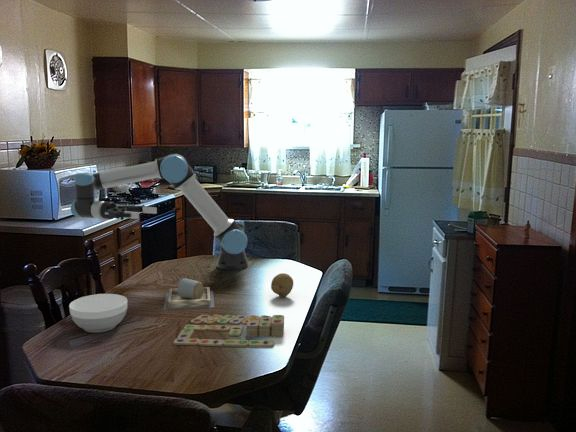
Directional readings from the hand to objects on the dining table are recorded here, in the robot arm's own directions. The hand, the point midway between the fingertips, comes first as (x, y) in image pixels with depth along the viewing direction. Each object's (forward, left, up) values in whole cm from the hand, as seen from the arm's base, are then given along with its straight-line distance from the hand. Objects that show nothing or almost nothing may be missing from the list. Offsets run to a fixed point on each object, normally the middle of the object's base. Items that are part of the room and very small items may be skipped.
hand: (147, 213), depth 221 cm
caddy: (-17, +22, -32) cm, 42 cm away
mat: (-17, +22, -32) cm, 42 cm away
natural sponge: (-54, +23, -32) cm, 67 cm away
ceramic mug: (-18, +20, -31) cm, 41 cm away
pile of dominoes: (-32, +54, -33) cm, 71 cm away
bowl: (+13, +45, -32) cm, 56 cm away
